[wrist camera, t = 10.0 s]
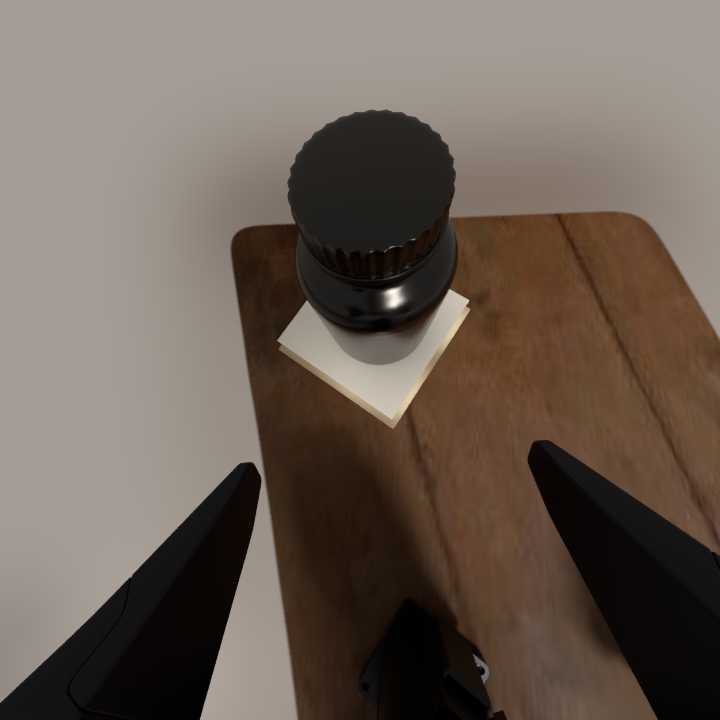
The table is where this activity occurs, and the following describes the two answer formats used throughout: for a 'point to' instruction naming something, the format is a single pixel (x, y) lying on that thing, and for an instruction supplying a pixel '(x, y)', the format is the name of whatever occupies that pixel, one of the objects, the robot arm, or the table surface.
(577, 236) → the table surface
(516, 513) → the table surface
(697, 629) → the robot arm
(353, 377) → the top slab
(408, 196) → the supplement bottle
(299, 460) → the table surface
